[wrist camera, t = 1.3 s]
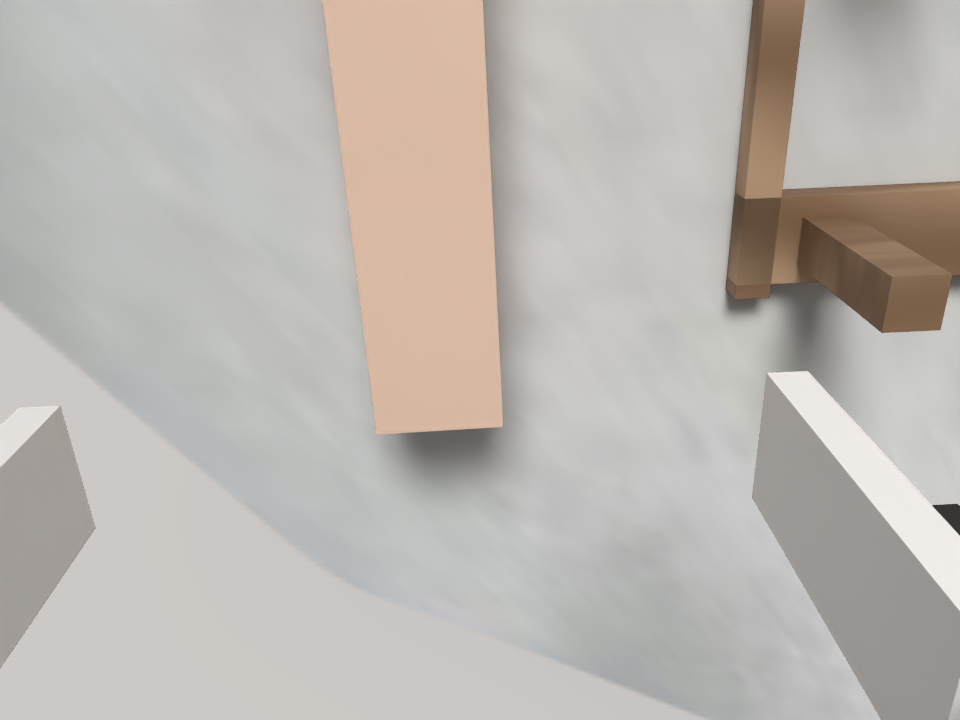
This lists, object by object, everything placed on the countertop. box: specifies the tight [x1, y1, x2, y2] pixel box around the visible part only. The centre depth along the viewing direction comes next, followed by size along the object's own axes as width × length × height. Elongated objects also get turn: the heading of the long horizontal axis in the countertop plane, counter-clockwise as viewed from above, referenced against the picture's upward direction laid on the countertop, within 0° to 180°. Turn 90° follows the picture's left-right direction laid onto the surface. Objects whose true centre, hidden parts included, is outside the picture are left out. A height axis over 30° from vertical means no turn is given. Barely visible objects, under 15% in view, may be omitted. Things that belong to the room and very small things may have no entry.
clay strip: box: [322, 0, 503, 435], centre depth 24 cm, size 18×4×5 cm, turn 3°
